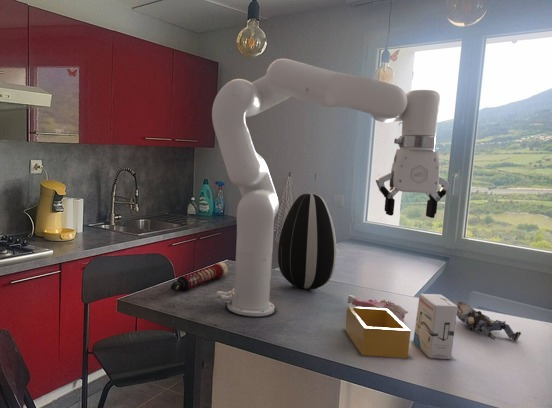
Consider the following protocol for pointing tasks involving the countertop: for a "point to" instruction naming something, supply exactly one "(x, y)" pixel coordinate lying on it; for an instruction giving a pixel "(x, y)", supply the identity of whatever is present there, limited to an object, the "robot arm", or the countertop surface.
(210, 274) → the shock absorber
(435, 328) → the ink box
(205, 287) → the countertop surface
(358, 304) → the toy
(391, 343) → the holder
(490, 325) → the toy
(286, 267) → the sunflower seed
